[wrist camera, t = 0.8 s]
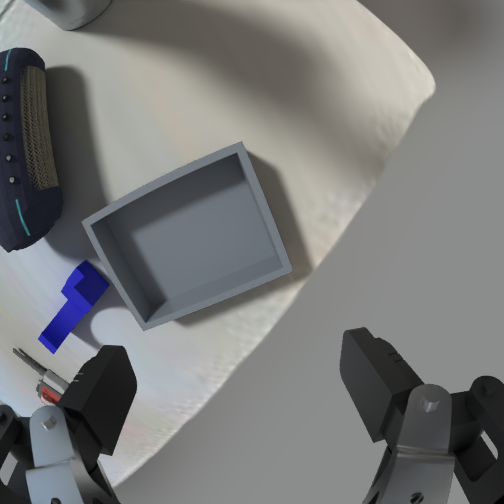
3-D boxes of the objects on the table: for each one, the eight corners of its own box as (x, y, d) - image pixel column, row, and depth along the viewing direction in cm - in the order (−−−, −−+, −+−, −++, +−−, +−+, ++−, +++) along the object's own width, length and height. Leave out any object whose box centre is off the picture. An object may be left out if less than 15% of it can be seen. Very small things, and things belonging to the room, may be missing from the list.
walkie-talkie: (104, 402, 37) (16, 341, 32) (98, 419, 33) (5, 355, 28) (94, 420, 39) (14, 366, 33) (89, 436, 35) (5, 379, 29)
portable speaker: (84, 221, 28) (39, 245, 19) (32, 242, 28) (-12, 268, 18) (58, 48, 20) (19, 24, 10) (8, 83, 19) (-34, 72, 10)
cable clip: (86, 259, 29) (64, 277, 24) (110, 284, 31) (92, 306, 25) (49, 310, 31) (30, 331, 25) (70, 331, 32) (53, 354, 26)
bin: (100, 212, 28) (81, 221, 23) (238, 145, 28) (242, 141, 23) (152, 309, 32) (143, 331, 27) (282, 255, 32) (293, 271, 27)
